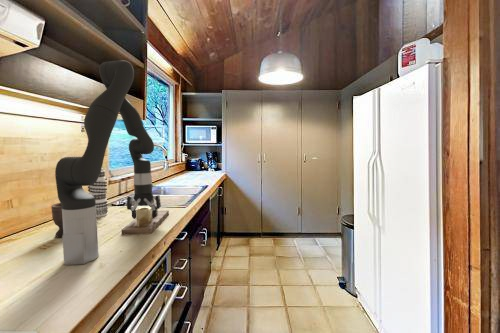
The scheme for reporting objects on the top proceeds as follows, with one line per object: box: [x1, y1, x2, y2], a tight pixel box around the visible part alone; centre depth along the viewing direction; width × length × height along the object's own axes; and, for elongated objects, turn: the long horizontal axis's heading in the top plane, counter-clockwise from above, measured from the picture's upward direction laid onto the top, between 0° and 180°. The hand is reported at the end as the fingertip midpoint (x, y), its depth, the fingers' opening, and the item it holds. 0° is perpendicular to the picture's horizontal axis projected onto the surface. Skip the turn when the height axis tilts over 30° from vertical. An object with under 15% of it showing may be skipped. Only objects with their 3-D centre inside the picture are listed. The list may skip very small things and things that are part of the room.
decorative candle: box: [87, 167, 109, 218], centre depth 143 cm, size 9×9×25 cm
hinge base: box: [120, 198, 170, 235], centre depth 128 cm, size 32×12×11 cm, turn 4°
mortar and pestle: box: [50, 202, 64, 239], centre depth 111 cm, size 12×9×20 cm
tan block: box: [135, 206, 152, 227], centre depth 120 cm, size 11×5×6 cm, turn 4°
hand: (144, 218), depth 123 cm, fingers open, 8 cm apart
